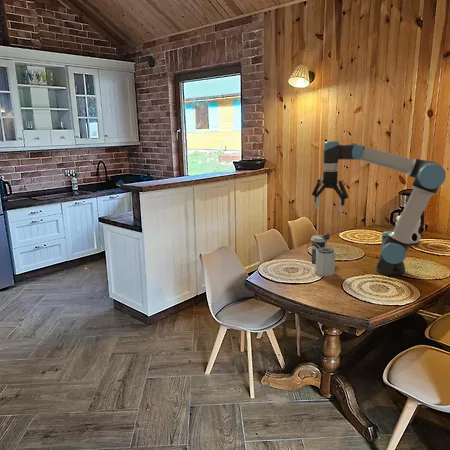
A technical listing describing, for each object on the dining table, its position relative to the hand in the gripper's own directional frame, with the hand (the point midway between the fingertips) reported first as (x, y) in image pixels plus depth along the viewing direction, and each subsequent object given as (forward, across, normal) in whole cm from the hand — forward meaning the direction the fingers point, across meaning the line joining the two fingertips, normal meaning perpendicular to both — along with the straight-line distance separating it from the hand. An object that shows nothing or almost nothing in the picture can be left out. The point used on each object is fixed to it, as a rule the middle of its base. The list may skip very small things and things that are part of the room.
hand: (329, 209), depth 210 cm
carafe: (+36, +2, +1) cm, 36 cm away
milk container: (+37, -16, -86) cm, 95 cm away
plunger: (+31, +1, +1) cm, 31 cm away
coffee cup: (+36, +14, -16) cm, 42 cm away
